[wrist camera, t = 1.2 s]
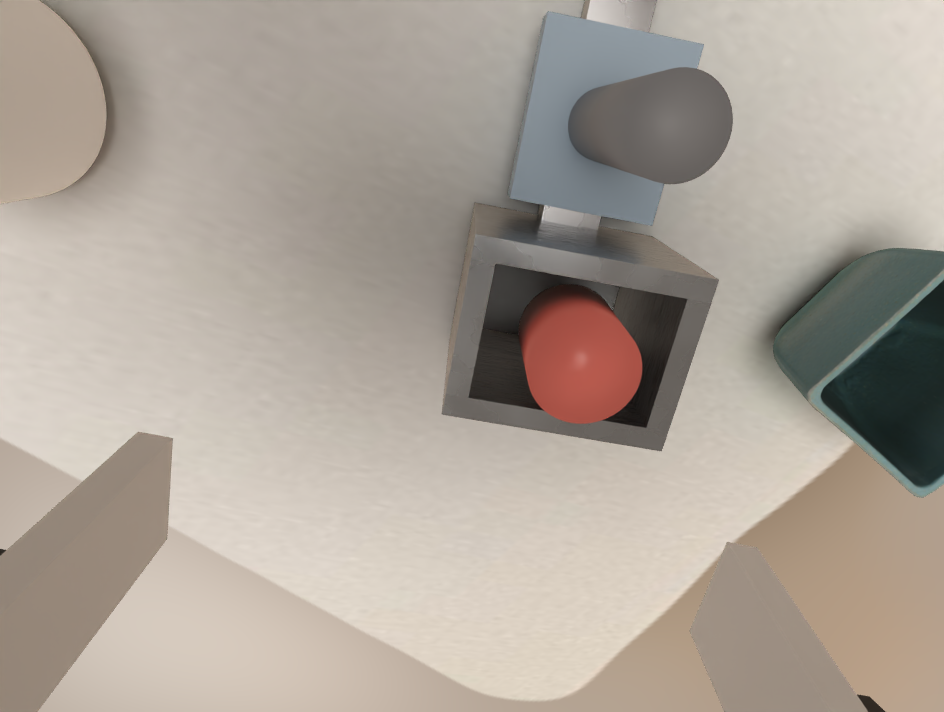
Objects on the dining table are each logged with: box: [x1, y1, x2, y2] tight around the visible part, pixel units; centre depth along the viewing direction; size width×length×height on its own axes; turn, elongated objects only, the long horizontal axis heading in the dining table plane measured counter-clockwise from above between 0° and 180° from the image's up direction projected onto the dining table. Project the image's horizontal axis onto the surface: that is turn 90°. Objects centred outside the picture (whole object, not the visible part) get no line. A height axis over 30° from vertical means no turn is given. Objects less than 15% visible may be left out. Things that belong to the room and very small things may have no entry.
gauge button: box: [518, 284, 642, 424], centre depth 26 cm, size 4×4×5 cm
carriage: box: [508, 11, 733, 226], centre depth 25 cm, size 8×7×15 cm
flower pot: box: [773, 248, 944, 498], centre depth 32 cm, size 9×9×9 cm
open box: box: [442, 203, 719, 451], centre depth 31 cm, size 8×10×10 cm
